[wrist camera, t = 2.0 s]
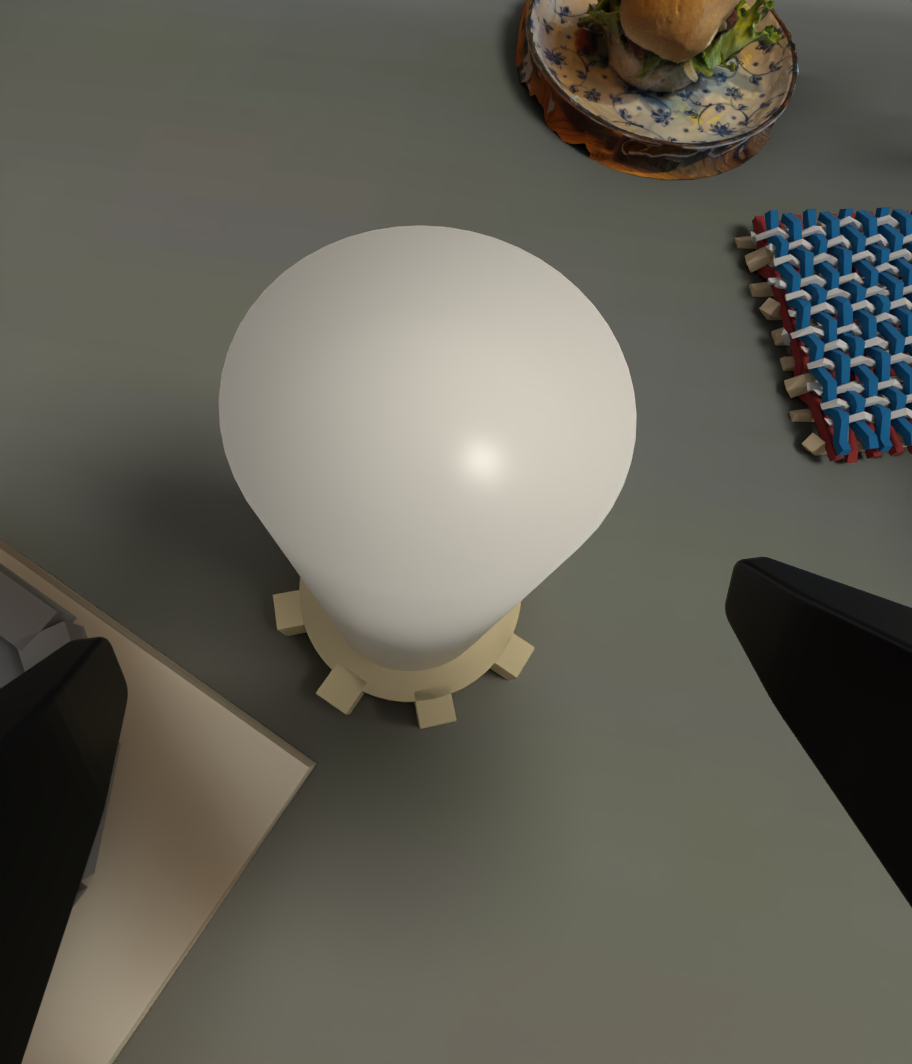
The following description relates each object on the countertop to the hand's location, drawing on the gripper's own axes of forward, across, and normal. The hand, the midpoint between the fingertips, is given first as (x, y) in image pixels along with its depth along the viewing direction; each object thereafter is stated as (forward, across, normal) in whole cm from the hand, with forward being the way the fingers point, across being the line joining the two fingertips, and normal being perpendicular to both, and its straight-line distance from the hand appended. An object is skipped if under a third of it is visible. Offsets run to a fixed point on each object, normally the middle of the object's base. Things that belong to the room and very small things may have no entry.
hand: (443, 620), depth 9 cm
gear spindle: (+9, 0, +6) cm, 10 cm away
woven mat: (+15, -20, 0) cm, 25 cm away
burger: (+25, -13, -9) cm, 29 cm away
